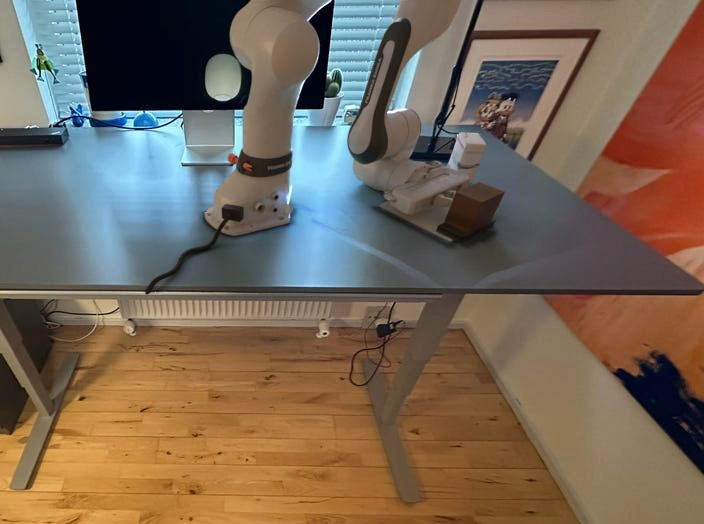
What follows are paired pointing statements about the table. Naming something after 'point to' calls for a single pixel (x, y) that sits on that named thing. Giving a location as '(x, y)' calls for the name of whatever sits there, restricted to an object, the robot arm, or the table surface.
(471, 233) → the eraser
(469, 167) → the ink box
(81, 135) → the table surface
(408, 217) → the whiteboard
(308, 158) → the table surface
